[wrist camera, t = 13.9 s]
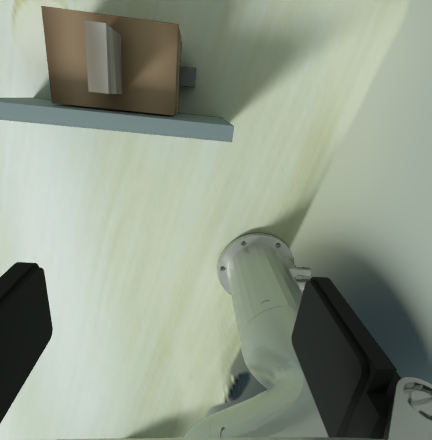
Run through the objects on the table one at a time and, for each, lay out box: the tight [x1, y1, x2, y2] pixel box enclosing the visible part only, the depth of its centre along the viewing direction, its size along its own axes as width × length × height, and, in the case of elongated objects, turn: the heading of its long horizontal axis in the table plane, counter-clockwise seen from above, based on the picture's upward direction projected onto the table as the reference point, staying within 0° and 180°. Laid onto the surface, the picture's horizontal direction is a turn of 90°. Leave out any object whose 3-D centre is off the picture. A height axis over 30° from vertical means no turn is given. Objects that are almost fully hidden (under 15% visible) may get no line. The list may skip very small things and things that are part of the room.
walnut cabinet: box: [41, 6, 182, 115], centre depth 30 cm, size 12×8×14 cm, turn 84°
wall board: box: [0, 98, 234, 142], centre depth 32 cm, size 24×2×12 cm, turn 84°
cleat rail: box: [179, 66, 196, 87], centre depth 35 cm, size 16×2×2 cm, turn 84°
